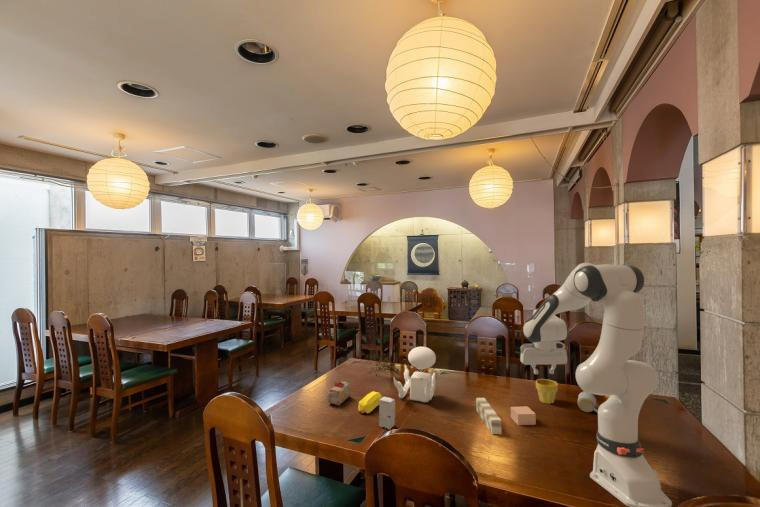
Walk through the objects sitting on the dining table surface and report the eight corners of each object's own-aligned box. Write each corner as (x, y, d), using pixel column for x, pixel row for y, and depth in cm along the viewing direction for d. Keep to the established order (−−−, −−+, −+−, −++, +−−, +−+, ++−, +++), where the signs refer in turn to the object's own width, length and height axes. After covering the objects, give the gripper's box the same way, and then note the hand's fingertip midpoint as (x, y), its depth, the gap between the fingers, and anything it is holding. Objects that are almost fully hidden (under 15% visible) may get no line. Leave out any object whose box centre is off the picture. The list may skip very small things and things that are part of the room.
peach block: (535, 425, 156) (535, 413, 156) (518, 425, 155) (517, 414, 155) (527, 417, 164) (527, 406, 164) (510, 417, 163) (510, 406, 163)
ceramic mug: (577, 411, 168) (577, 395, 168) (578, 405, 175) (578, 389, 175) (603, 416, 163) (603, 400, 163) (603, 410, 169) (603, 394, 170)
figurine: (430, 411, 173) (431, 354, 173) (392, 404, 180) (393, 350, 180) (438, 393, 196) (439, 343, 196) (404, 388, 202) (405, 339, 202)
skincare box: (378, 426, 156) (378, 399, 156) (383, 422, 160) (383, 396, 160) (391, 430, 153) (390, 402, 153) (395, 425, 157) (395, 398, 157)
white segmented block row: (501, 434, 148) (501, 420, 148) (492, 434, 148) (491, 420, 148) (484, 409, 172) (484, 397, 172) (476, 410, 172) (476, 397, 172)
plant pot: (560, 406, 174) (560, 386, 175) (538, 404, 177) (538, 385, 177) (554, 397, 185) (554, 379, 185) (534, 396, 187) (533, 378, 187)
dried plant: (415, 347, 224) (357, 316, 239) (399, 365, 196) (333, 328, 211) (399, 387, 231) (343, 354, 246) (381, 410, 202) (318, 371, 218)
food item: (340, 407, 178) (339, 387, 178) (326, 405, 180) (326, 386, 181) (351, 397, 191) (351, 379, 191) (338, 395, 193) (338, 377, 193)
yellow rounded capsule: (354, 413, 170) (368, 416, 167) (354, 400, 170) (368, 402, 167) (372, 400, 186) (385, 402, 183) (372, 387, 186) (385, 389, 183)
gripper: (523, 345, 157) (523, 376, 157) (568, 344, 157) (569, 375, 157) (517, 342, 163) (518, 371, 163) (561, 341, 163) (562, 371, 163)
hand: (543, 373), depth 160 cm, fingers open, 5 cm apart
